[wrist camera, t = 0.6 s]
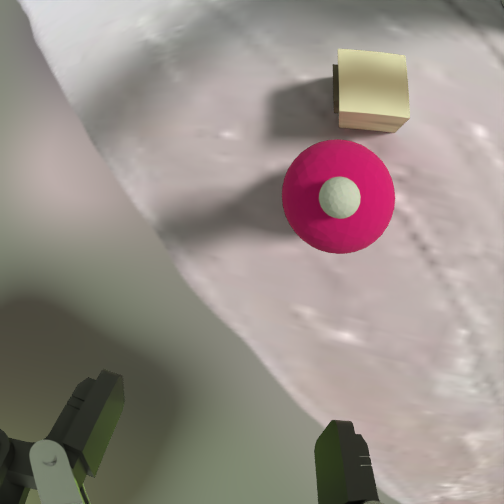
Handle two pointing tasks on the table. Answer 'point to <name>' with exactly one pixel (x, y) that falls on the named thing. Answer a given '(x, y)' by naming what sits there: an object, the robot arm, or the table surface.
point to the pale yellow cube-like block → (371, 90)
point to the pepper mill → (338, 196)
